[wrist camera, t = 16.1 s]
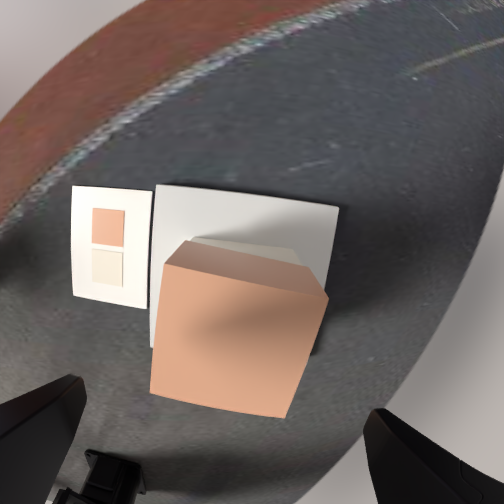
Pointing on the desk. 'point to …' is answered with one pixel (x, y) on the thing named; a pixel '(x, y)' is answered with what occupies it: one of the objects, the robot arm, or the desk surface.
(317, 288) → the brick orange
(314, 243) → the baseplate
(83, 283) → the page
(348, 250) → the desk surface
